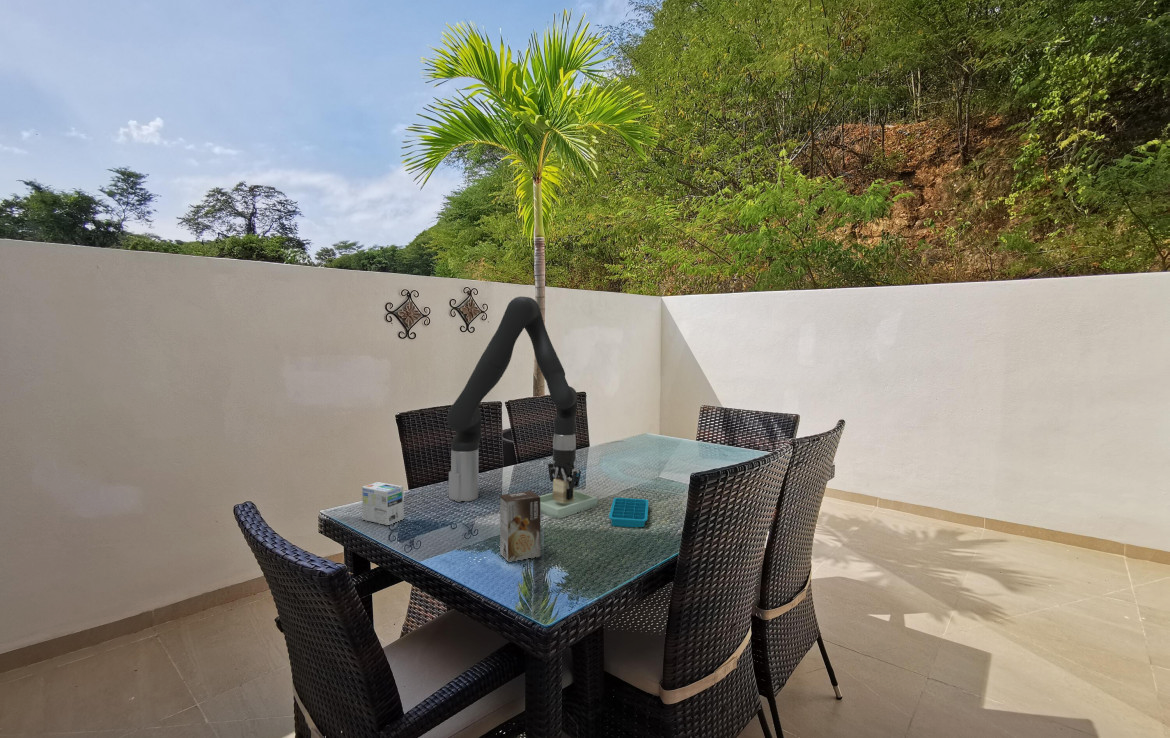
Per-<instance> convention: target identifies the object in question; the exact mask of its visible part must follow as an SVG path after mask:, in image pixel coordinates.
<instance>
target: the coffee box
mask: <svg viewBox="0 0 1170 738" xmlns="http://www.w3.org/2000/svg"><path fill="white" fill-rule="evenodd" d="M539 496H540V495H539V494H537V493H535V492H533V491H532V490H527V491H521V492H520V491H519V492H513V493H512V492H511V493H505V494H500V495H499V517H500V518H499V527H500V528H499V534H500V536H499V538H500V539H499V542H500V543H499V545H500V547H499V548H500V549H499V552H500V553H501V554H500V555H502V556H503V557H504V558H505V559H506V560H507V561H508V562H510V561H516V562H518V561H517V560H521V561H524V560H523V559H526V560H529V559H528V558H531V559H536V558H541V554H542V553H541V552H542V551H541V512H540V497H539ZM502 556H501V557H502ZM503 557H502V558H503ZM535 557H536V558H535ZM504 558H503V559H504ZM505 559H504V560H505ZM506 560H505V561H506ZM507 561H506V562H507Z"/></svg>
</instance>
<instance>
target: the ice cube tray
mask: <svg viewBox="0 0 1170 738" xmlns="http://www.w3.org/2000/svg"><path fill="white" fill-rule="evenodd" d="M648 512H649V500H648V499H643V498H630V497H614V498H613V500H612V503H611V507H610V511H609V516H608V519H609V520H611V526H612V527H620V528H634V527H644V526H646V525H645V524H646V522H647V521H648V514H649V513H648ZM644 528H645V527H644Z"/></svg>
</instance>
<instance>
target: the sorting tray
mask: <svg viewBox="0 0 1170 738" xmlns="http://www.w3.org/2000/svg"><path fill="white" fill-rule="evenodd" d="M538 496H539V497H540V514H544V515H546V516H548V517H551V518H554V519H556V520H560V519H563V518H566V517H569V516H572V515H575V514H577V512H578V513H581V512H584V511H587V510H590V508H591V509H593V507H594V508H596V506H597V507H598V499H599V497H597V496H594V495H590V494H587V493H586V492H582V491H580V490H577V489H574V500H573V501H570V502H567V503H560V502H557V501H555V500H553V492H550V493H546V494H543V495H538ZM580 511H581V512H580Z"/></svg>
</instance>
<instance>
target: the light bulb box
mask: <svg viewBox="0 0 1170 738" xmlns="http://www.w3.org/2000/svg"><path fill="white" fill-rule="evenodd" d="M361 491H362V493H361V495H362V498H361V499H362V501H361V502H362V520H363V519H365V520H369V521H374V522H378V523H381V524H385V525H390V524H392V525H394V524H393V523H395V522H397V523H399V522H401V521H400V520H402V521H404V520H405V518H404V517H405V510H404V485H398V484H392V483H387V482H380V481H377V482H376V481H375V482H373V483H370V484H367V485H363V486H362V487H361ZM403 519H404V520H403ZM398 521H399V522H398ZM395 524H396V523H395ZM390 526H391V525H390Z"/></svg>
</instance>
